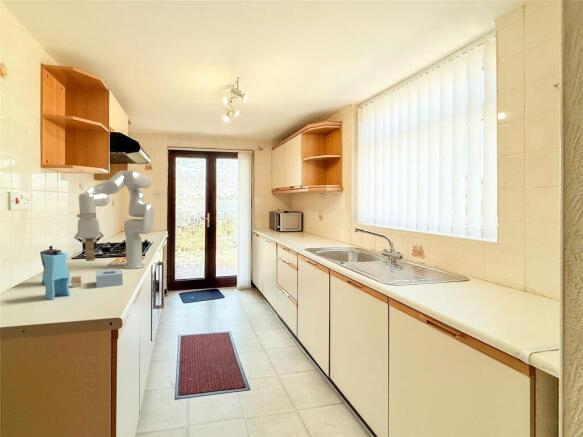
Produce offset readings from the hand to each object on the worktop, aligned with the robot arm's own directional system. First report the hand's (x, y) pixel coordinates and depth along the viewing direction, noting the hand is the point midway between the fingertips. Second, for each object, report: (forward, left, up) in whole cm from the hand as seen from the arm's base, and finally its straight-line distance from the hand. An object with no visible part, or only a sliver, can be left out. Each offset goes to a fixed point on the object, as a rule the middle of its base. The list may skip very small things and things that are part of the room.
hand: (89, 249), depth 185 cm
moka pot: (-5, -17, -18) cm, 26 cm away
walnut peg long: (0, 0, -6) cm, 6 cm away
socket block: (+10, +9, -18) cm, 22 cm away
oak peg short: (+8, -6, -18) cm, 20 cm away
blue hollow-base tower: (+24, -13, -18) cm, 32 cm away
